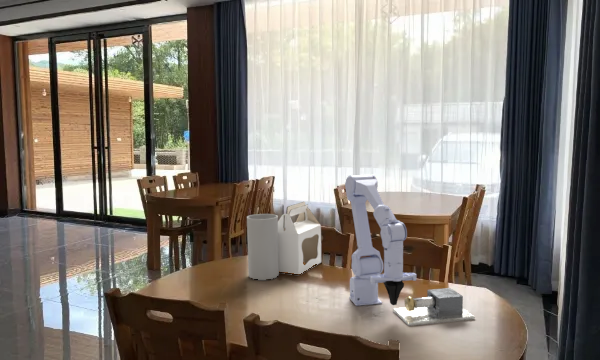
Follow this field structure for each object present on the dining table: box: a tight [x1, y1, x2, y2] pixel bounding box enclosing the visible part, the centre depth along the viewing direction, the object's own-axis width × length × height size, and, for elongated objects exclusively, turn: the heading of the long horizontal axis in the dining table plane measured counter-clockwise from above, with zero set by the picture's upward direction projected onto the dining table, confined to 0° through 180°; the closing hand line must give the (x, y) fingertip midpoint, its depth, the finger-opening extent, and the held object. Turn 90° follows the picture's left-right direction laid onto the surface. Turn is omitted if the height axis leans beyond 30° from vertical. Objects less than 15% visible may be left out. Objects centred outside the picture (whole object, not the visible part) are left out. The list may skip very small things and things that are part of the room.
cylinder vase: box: [246, 213, 280, 281], centre depth 192 cm, size 12×12×25 cm
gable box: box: [278, 201, 322, 275], centre depth 205 cm, size 22×13×28 cm, turn 152°
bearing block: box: [392, 287, 476, 327], centre depth 150 cm, size 22×12×7 cm, turn 101°
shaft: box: [404, 295, 436, 311], centre depth 149 cm, size 15×4×4 cm, turn 101°
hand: (393, 303), depth 147 cm, fingers closed
